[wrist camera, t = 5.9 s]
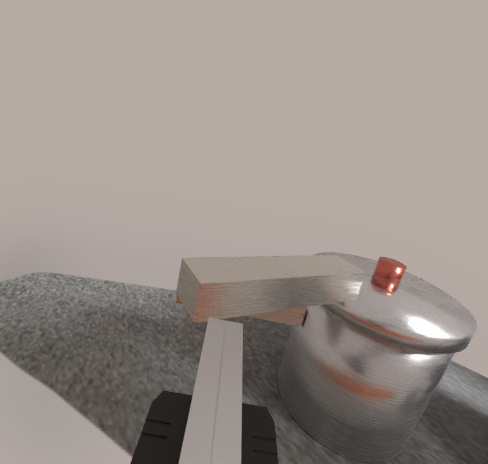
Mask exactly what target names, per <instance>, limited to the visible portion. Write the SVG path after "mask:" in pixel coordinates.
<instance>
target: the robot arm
mask: <svg viewBox="0 0 488 464" xmlns="http://www.w3.org/2000/svg"><path fill="white" fill-rule="evenodd" d="M242 363H243V324H242V323H237V322H231V321H226V320H221V319H215V318H210V317H209V319H208V324H207V328H206V333H205V338H204V343H203V348H202V352H201V357H200V362H199V367H198V371H197V376H196V381H195V386H194V391H193V396H192V395H186V394H180V393H174V392H168V391H162V392H161V393H160V394H159V396H158V397H157V398H156V399H155V400H154V401H153V402H152V404H151V407H150V410H149V413H148V416H147V418H146V422H145V424H144V427H143V430H142V433H141V436H140V438H139V441H138V444H137V447H136V449H135V452H134V455H133V458H132V461H131V464H278V457H277V445H276V435H275V425H274V421H273V419H272V417H271V415H270V413H269V411H268V409H267V407H261V406H255V405H249V404H244V403H242Z"/></svg>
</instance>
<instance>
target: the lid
mask: <svg viewBox="0 0 488 464" xmlns="http://www.w3.org/2000/svg"><path fill="white" fill-rule="evenodd" d="M405 270H406V266H405V265H404V264H402V263H400V262H398V261H396V260H393V259H390V258H386V257H380V258H379V260H378V261H375V260H371V259H368V258H364V257H359V256H355V255H350V254H343V253H332V252H326V253H318V254H314V255H312V256H262V257H261V256H259V257H207V258H206V257H204V258H182V261H181V267H180V273H179V279H178V286H177V291H176V293H177V295H178V297H179V299H180V301H181V302H182V304H183V306H184V308H185V309H186V311H187V313H188V315H189V317H190V318H191V320H192V322H193V323H197V322H204V321H208V319H209V317H210V318H215V319H225V318H232V317H240V316H247V315H254V314H261V313H268V312H275V311H282V310H289V309H296V308H303V307H310V306H317V305H322V306H324V307H325V308H326V309H328V310H329V311H330V312H331V313H333V314H334V315H336V316H337V317H339V318H341V319H342V320H344V321H345V322H347V323H349V324H351V325H352V326H354V327H356V328H358V329H360V330H362V331H364V332H366V333H368V334H370V335H373V336H375V337H377V338H380V339H382V340H385V341H388V342H390V343H393V344H396V345H399V346H402V347H406V348H409V349H413V350H418V351H422V352H429V353H437V354H450V353H456V352H460V351H462V350H464V349H465V348H466V347H467V346H468V344H469V342H470V340H471V338H472V337H473V334H474V333H475V331H476V328H477V324H476V321H475V319H474V317H473V316H472V314H471V313H470V312H469V311H468V310H467V309H466V308H465V307H464V306H463V305H462V304H461V303H459V302H458V301H457V300H456V299H454V298H453V297H452V296H450V295H449V294H447V293H445V292H444V291H443V290H441V289H439V288H438V287H436V286H434V285H432V284H430V283H429V282H427V281H425V280H423V279H421V278H418V277H417V276H414V275H412V274H410V273H408V272H405Z"/></svg>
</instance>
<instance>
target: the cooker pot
mask: <svg viewBox="0 0 488 464" xmlns="http://www.w3.org/2000/svg"><path fill="white" fill-rule="evenodd" d="M176 303H181V304H182V302H181V301H180V299H179V297H178V295H177V301H176ZM247 317H252V318H258V319H263V320H268V321H273V322H278V323H283V324H288V325H292V328H291V331H290V334H289V338H288V341H287V344H286V347H285V350H284V354H283V357H282V360H281V363H280V366H279V370H278V374H277V385H278V390H279V393H280V396H281V399H282V401H283V403H284V405H285V407H286V408H287V410H288V411H289V413H290V415H291V416H292V417H293V418H294V420H295V421H296V422H297V423H298V424H299V425H300V426H301V428H302V429H303V430H304V431H305V432H307V433H308V434H309V435H310V436H311V437H312V438H314V439H315V440H316V441H318V442H319V443H320V444H322V445H323V446H325V447H327V448H328V449H330V450H332V451H334V452H336V453H338V454H340V455H342V456H344V457H347V458H350V459H353V460H357V461H361V462H368V463H382V462H386V461H390V460H392V459H394V458H396V457H397V456H399V455H400V454H401V453H402V451H403V450H404V449H405V447H406V445H407V443H408V441H409V439H410V437H411V435H412V434H413V432H414V430H415V428H416V426H417V424H418V422H419V420H420V418H421V416H422V414H423V413H424V411H425V409H426V407H427V405H428V403H429V401H430V399H431V397H432V395H433V394H434V392H435V390H436V388H437V386H438V384H439V382H440V380H441V378H442V376H443V374H444V373H445V371H446V369H447V367H448V365H449V363H450V361H451V359H452V357H453V355H454V353H450V354H437V353H429V352H422V351H418V350H413V349H409V348H406V347H402V346H399V345H396V344H393V343H390V342H388V341H385V340H382V339H380V338H377V337H375V336H373V335H370V334H368V333H366V332H364V331H362V330H360V329H358V328H356V327H354V326H352V325H351V324H349V323H347V322H345V321H344V320H342V319H341V318H339V317H337V316H336V315H334V314H333V313H331V312H330V311H329V310H328V309H326V308H325V307H324V306H322V305H317V306H310V307H303V308H296V309H289V310H282V311H275V312H268V313H261V314H254V315H247Z"/></svg>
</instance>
